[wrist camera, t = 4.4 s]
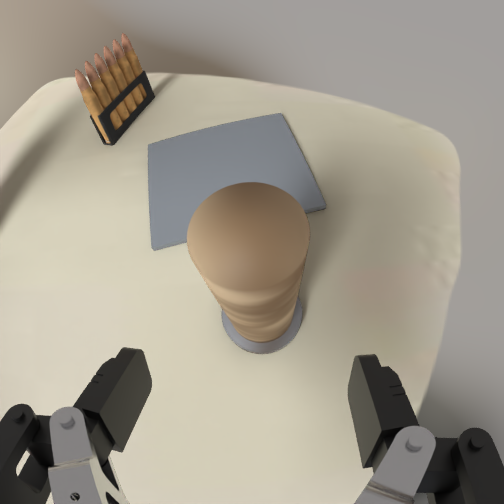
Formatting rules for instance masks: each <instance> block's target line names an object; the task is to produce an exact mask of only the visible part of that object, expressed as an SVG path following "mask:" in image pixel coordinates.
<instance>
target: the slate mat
mask: <svg viewBox="0 0 504 504" xmlns="http://www.w3.org/2000/svg"><path fill="white" fill-rule="evenodd" d="M244 182H259V183H265V184H269V185H273V186H275V187H278V188H280V189H282V190H284V191H286V192H287V193H289V194H290V195H291V196H292V197H294V198H295V199H296V200H297V202H298V203H299V204H300V205H301V207H302V208H303V210H304V211H305V213H309V212H313V211H317V210H322V209H325V208H326V203H325V201H324V199H323V196H322V194H321V192H320V190H319V188H318V186H317V183H316V181H315V179H314V177H313V175H312V173H311V171H310V169H309V167H308V165H307V163H306V160H305V158H304V156H303V154H302V152H301V150H300V148H299V146H298V144H297V142H296V141H295V139H294V137H293V135H292V133H291V131H290V129H289V127H288V125H287V123H286V121H285V119H284V118H283V116H282V114H281V113H278V114H272V115H266V116H261V117H255V118H250V119H245V120H240V121H236V122H231V123H227V124H222V125H218V126H214V127H210V128H206V129H202V130H198V131H194V132H190V133H186V134H183V135H179V136H176V137H172V138H169V139H165V140H162V141H159V142H155V143H152V144H149V145H148V188H149V214H150V231H151V245H152V249H153V250H154V251H155V250H159V249H163V248H167V247H170V246H174V245H178V244H182V243H186V242H187V231H188V226H189V223H190V220H191V218H192V216H193V214H194V212H195V211H196V209H197V208H198V207H199V205H200V204H201V203H202V202H203V201H204V200H205V199H206V198H208V197H209V196H210V195H212V194H213V193H214V192H216V191H218V190H220V189H222V188H224V187H227V186H230V185H233V184H237V183H244Z"/></svg>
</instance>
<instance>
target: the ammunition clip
mask: <svg viewBox="0 0 504 504" xmlns="http://www.w3.org/2000/svg"><path fill="white" fill-rule="evenodd" d="M122 46H123V49H124V52H123V49H122V48H121V46H120V44H119V43H118V42H117V41H116V40H113V49H114V54H115V57H116V60H115V58H114V56H113V54H112V52H111V51H110V50H109V48H108V47H106V46H104V57H105V61H106V63H107V66H108V69H109V70H108V69H107V66H106V65H105V63H104V61H103V59H102V58H101V57H100V56H99V55H98V54H97V53H95V64H96V68H97V70H98V73H99V76H100V78H99V76H98V74H97V72H96V71H95V69H94V68H93V66H92V65H91V64H90V63H89V62H88V61H86V62H85V69H86V73H87V76H88V79H89V81H90V84H91V86H92V89H91V87H90V85H89V83H88V82H87V80H86V78H85V77H84V75H83V74H82V73H81V72H80V71H79V70H77V69H76V70H75V77H76V81H77V84H78V86H79V88H80V91H81V93H82V96H83V99H84V102H85V104H86V106H87V108H88V110H89V112H90V114H91V115H90V118H91V120H92V122H93V124H94V126H95V128H96V130H97V132H98V134H99V136H100V138H101V140H102V142H103V144H105V145H114V144H115V143H116V142H117V141H118V139H119V138H120V137H121V136H122V134H123V133H124V132H125V131H126V130H127V128H128V127H129V126H130V125H131V124H132V122H133V121H134V120H135V119H136V118H137V117H138V115H139V114H140V113H141V112H142V111H143V110H144V109H145V108H146V106H147V105H148V104H149V103H150V102H151V101H152V100H153V99H154V98H155V96H154V93H153V91H152V88H151V86H150V83H149V80H148V78H147V75H146V73H145V71H142V68H141V66H140V63H139V60H138V57H137V56H136V54H135V52H134V50H133V48H132V45H131V43H130V41H129V39H128V37H127V36H126V35H125V34H124V33H122ZM124 53H125V54H124ZM116 61H117V62H116ZM100 79H101V80H100Z"/></svg>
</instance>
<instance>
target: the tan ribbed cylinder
mask: <svg viewBox="0 0 504 504" xmlns="http://www.w3.org/2000/svg"><path fill="white" fill-rule="evenodd" d="M309 240H310V227H309V222H308V218H307V216H306V214H305V211H304V210H303V208H302V207H301V205H300V204H299V203H298V202H297V200H296V199H295V198H294V197H292V196H291V195H290V194H289V193H287V192H286V191H284V190H282V189H280V188H278V187H275V186H273V185H269V184H265V183H259V182H244V183H237V184H233V185H230V186H227V187H224V188H222V189H220V190H218V191H216V192H214V193H213V194H212V195H210V196H209V197H208V198H206V199H205V200H204V201H203V202H202V203H201V204H200V205H199V207H198V208H197V209H196V211H195V212H194V214H193V216H192V218H191V220H190V223H189V226H188V231H187V246H188V251H189V254H190V257H191V259H192V261H193V262H194V264H195V266H196V268H197V269H198V271H199V272H200V274H201V276H202V277H203V279H204V281H205V282H206V284H207V285H208V287H209V289H210V290H211V292H212V293H213V295H214V297H215V298H216V300H217V301H218V303H219V304H220V306H221V308H222V322H223V326H224V328H225V331H226V333H227V334H228V336H229V337H230V338H231V339H232V341H233V342H234V343H235V344H236V345H238V346H239V347H240V348H242V349H244V350H246V351H248V352H251V353H256V354H268V353H273V352H276V351H278V350H280V349H282V348H284V347H285V346H287V345H288V344H289V343H290V342H291V341H292V340H293V339H294V337H295V336H296V334H297V332H298V330H299V327H300V324H301V320H302V306H301V302H300V299H299V297H298V292H299V288H300V283H301V279H302V274H303V270H304V265H305V260H306V256H307V251H308V246H309Z"/></svg>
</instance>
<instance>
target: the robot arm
mask: <svg viewBox="0 0 504 504" xmlns="http://www.w3.org/2000/svg"><path fill="white" fill-rule="evenodd" d="M151 388H152V379H151V375H150V372H149V369H148V365H147V362H146V359H145V355H144V352H143V351H142V350H141V349H133V348H126V347H124V348H122V349H121V350H120V352H119V353H118V355H117V356H116V358H111V359H109V360H108V361H107V362H105V363H104V364H102V366H101V367H100V368H99V370H98V371H97V373H96V375H94V377H93V378H92V380H91V382H89V384H88V385H87V387H86V388H85V390H84V391H83V393H82V394H81V395H80V397H79V398H78V400H77V401H76V403H75V404H74V406H73V407H64V408H61V409H59V410H57V411H56V412H54V414H53V415H52V416H43V415H35V413H34V411H33V410H32V408H31V407H30V406H28V405H26V404H17V405H15V406H13V407H11V408H10V409H9V410H8V411H7V413H6V414H5V416H4V417H3V418H2V420H1V421H0V504H46V501H47V499H48V497H49V495H50V492H52V497H53V501H54V504H130V503H129V502H128V500H127V499H126V497H125V495H124V493H123V490H122V488H121V485H120V483H119V480H118V477H117V475H116V472H115V469H114V466H113V463H112V460H111V458H110V456H109V454H110V452H111V450H115V451H118V452H123V450H124V448H125V446H126V443H127V441H128V439H129V437H130V435H131V432H132V430H133V428H134V426H135V424H136V422H137V420H138V417H139V415H140V413H141V411H142V409H143V407H144V405H145V403H146V400H147V398H148V396H149V394H150V392H151ZM348 400H349V405H350V409H351V414H352V418H353V423H354V427H355V432H356V437H357V442H358V446H359V451H360V456H361V462H362V467H363V468H368V467H373V472H374V475H373V476H372V478H371V480H370V481H369V483H368V484H367V486H366V487H365V489H364V490H363V492H362V493H361V495H360V496H359V497H358V499H357V500H356V502H355V503H354V504H414V500H413V497H414V495H415V493H427V498H428V502H429V504H504V466H503V464H502V461H501V459H500V456H499V454H498V451H497V449H496V447H495V444H494V442H493V440H492V438H491V436H490V435H489V433H487V432H486V431H485V430H483V429H480V428H470V429H467V430H466V431H464V432H463V433H462V434H461V435H460V437H459V438H437V437H434V436H433V434H432V433H431V432H430V431H429V430H427V429H426V428H423V427H420V426H419V424H418V422H417V419H416V416H415V414H414V411H413V409H412V407H411V404H410V402H409V400H408V397H407V395H406V394H405V390H404V388H403V387H402V383H401V381H400V379H399V377H398V375H397V374H396V373H395V372H394V371H393V370H392V369H391V368H390V367H389V366H386V367H381V365H380V363H379V360H378V358H377V356H376V355H375V354H372V355H359V356H355V358H354V362H353V367H352V371H351V376H350V380H349V385H348ZM26 450H27V451H28V452H29V453H30V456H29V457H28V459H27V461H26V463H25V465H24V466H23V468H22V470H21V472H20V474H19V476H17V474H16V467H17V465H18V463H19V461H20V460H21V458H22V456H23V454H24V453H25V451H26Z"/></svg>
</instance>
